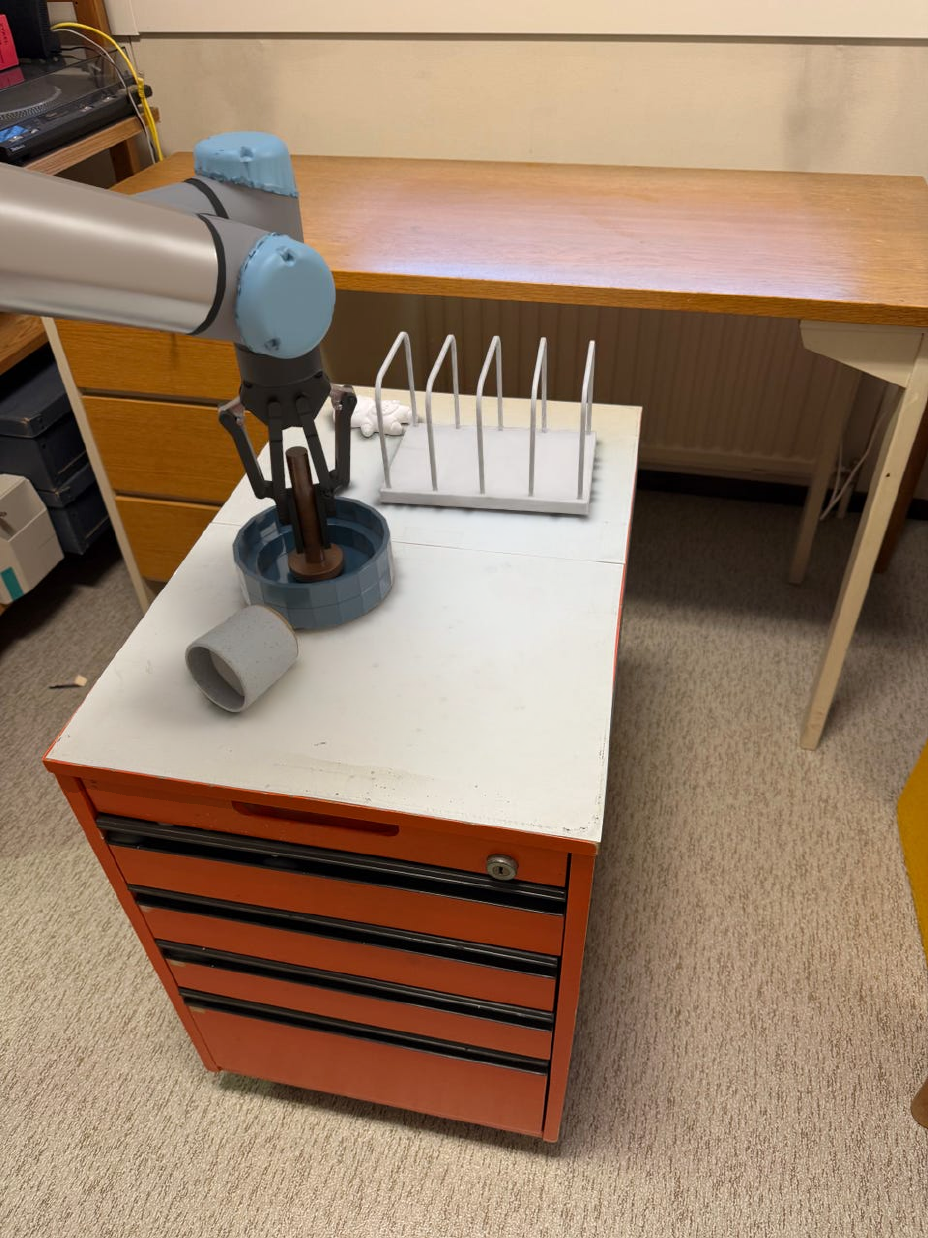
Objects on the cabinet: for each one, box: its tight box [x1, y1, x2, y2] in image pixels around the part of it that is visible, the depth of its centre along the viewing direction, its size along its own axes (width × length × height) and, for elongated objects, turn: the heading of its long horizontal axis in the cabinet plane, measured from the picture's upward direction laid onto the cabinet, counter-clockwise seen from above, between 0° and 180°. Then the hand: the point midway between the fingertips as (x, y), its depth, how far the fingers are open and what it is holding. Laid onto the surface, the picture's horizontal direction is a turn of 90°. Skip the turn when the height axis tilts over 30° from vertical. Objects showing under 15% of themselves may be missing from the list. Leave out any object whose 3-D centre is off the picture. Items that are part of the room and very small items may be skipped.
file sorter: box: [374, 331, 597, 515], centre depth 106 cm, size 25×17×16 cm
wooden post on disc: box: [284, 445, 344, 583], centre depth 91 cm, size 6×6×14 cm
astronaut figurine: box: [332, 394, 419, 438], centre depth 122 cm, size 9×12×3 cm
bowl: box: [231, 495, 395, 630], centre depth 94 cm, size 16×16×6 cm
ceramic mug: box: [184, 604, 300, 713], centre depth 82 cm, size 11×8×8 cm
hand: (312, 543), depth 94 cm, fingers closed on wooden post on disc, 2 cm apart
